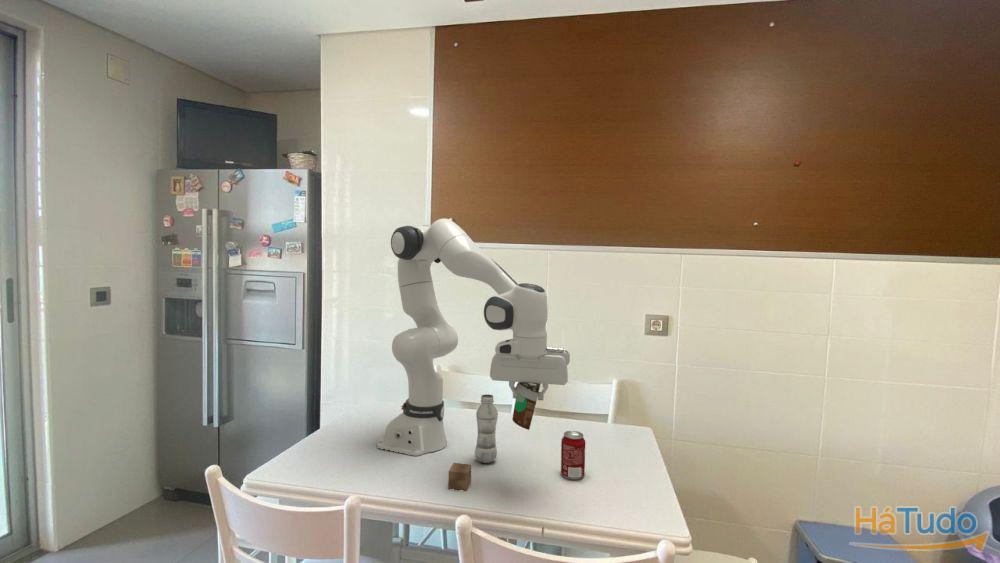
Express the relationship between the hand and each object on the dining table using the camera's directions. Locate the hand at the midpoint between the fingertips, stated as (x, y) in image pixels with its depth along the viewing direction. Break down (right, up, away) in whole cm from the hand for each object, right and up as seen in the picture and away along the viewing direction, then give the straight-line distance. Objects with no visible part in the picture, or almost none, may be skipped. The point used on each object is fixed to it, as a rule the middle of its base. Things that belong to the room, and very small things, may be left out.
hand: (528, 398), depth 117 cm
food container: (-2, -6, +1) cm, 6 cm away
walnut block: (-18, -25, +4) cm, 31 cm away
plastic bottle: (-12, -24, +19) cm, 33 cm away
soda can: (+13, -25, +11) cm, 30 cm away
